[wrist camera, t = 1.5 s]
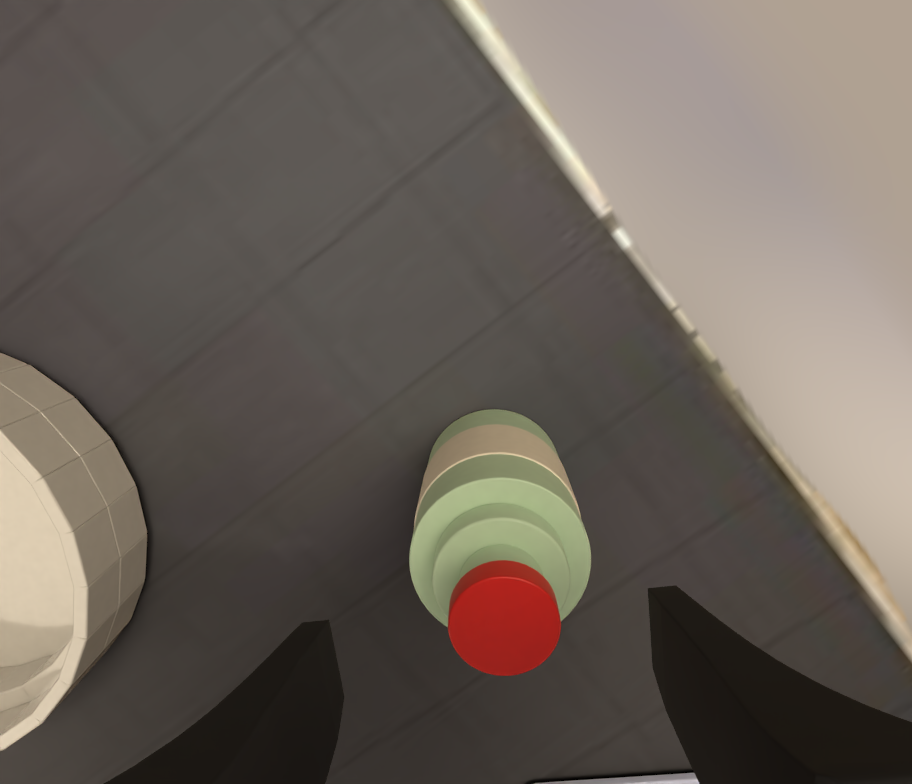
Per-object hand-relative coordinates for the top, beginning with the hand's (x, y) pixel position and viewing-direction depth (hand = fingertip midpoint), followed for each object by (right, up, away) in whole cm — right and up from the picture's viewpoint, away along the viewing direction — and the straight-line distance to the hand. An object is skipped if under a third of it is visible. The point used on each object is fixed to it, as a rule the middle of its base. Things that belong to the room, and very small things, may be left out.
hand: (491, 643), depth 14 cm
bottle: (+1, +2, +10) cm, 11 cm away
